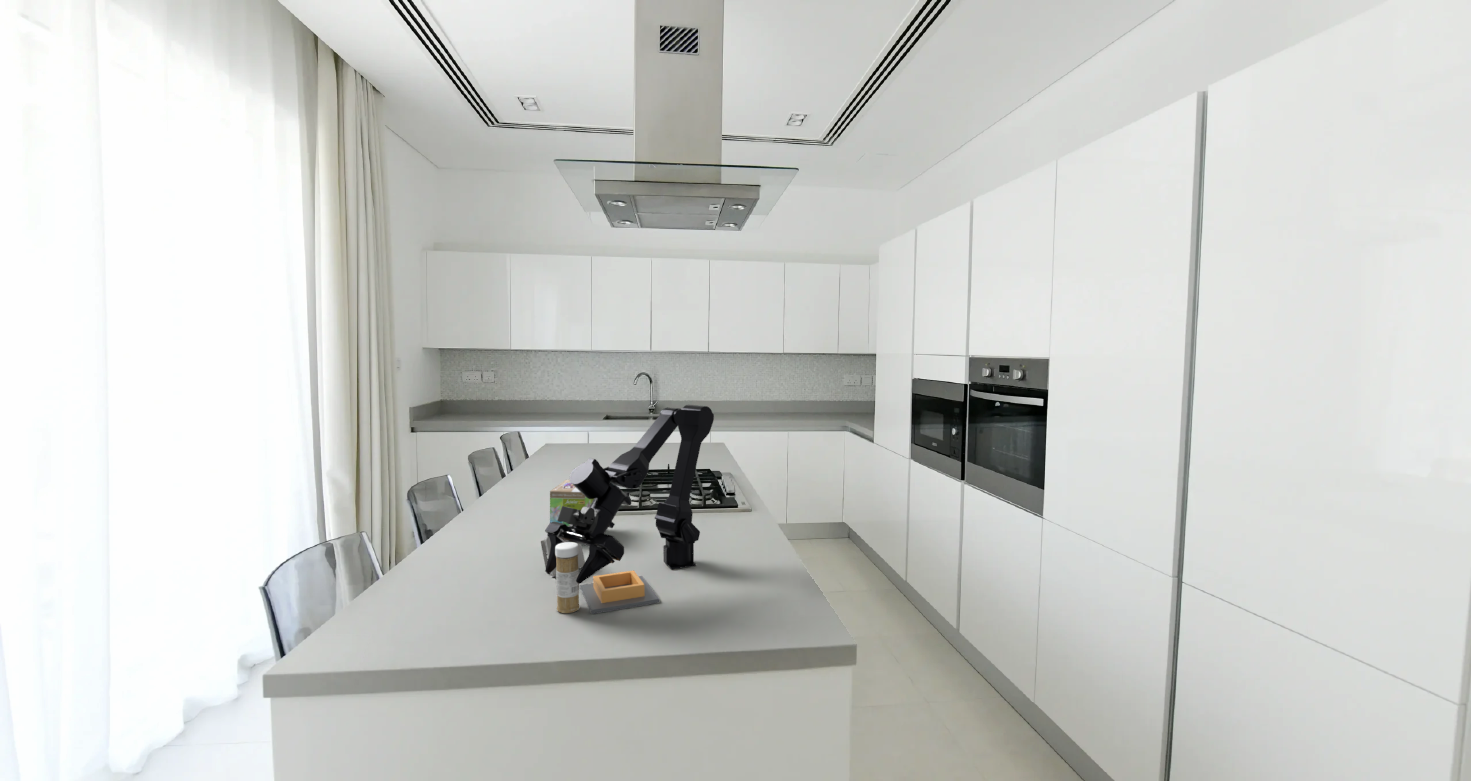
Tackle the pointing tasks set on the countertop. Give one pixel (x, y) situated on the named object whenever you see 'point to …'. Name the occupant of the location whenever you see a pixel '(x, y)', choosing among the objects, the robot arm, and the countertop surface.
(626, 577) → the socket
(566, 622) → the countertop surface
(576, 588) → the sprinkles bottle
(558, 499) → the tea box
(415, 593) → the countertop surface
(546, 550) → the electrical switch
